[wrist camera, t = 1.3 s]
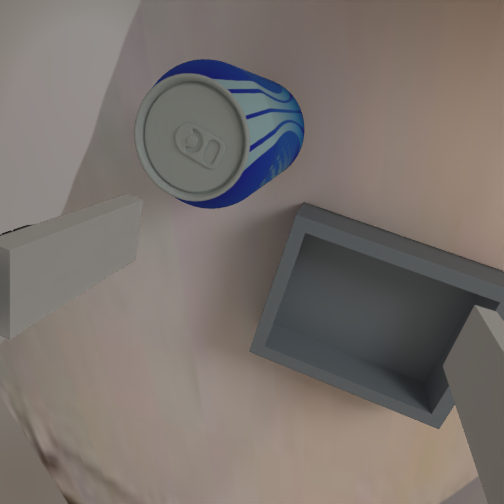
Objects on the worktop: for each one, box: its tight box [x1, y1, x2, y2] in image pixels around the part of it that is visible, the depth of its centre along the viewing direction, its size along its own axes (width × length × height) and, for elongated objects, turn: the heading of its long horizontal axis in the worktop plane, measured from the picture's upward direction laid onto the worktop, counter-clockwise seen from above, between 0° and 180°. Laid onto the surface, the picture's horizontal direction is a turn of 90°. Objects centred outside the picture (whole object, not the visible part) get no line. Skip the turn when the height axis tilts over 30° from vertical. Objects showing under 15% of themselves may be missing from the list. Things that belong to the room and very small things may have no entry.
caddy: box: [249, 202, 504, 429], centre depth 36 cm, size 14×18×5 cm
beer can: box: [134, 59, 304, 209], centre depth 28 cm, size 8×8×16 cm
